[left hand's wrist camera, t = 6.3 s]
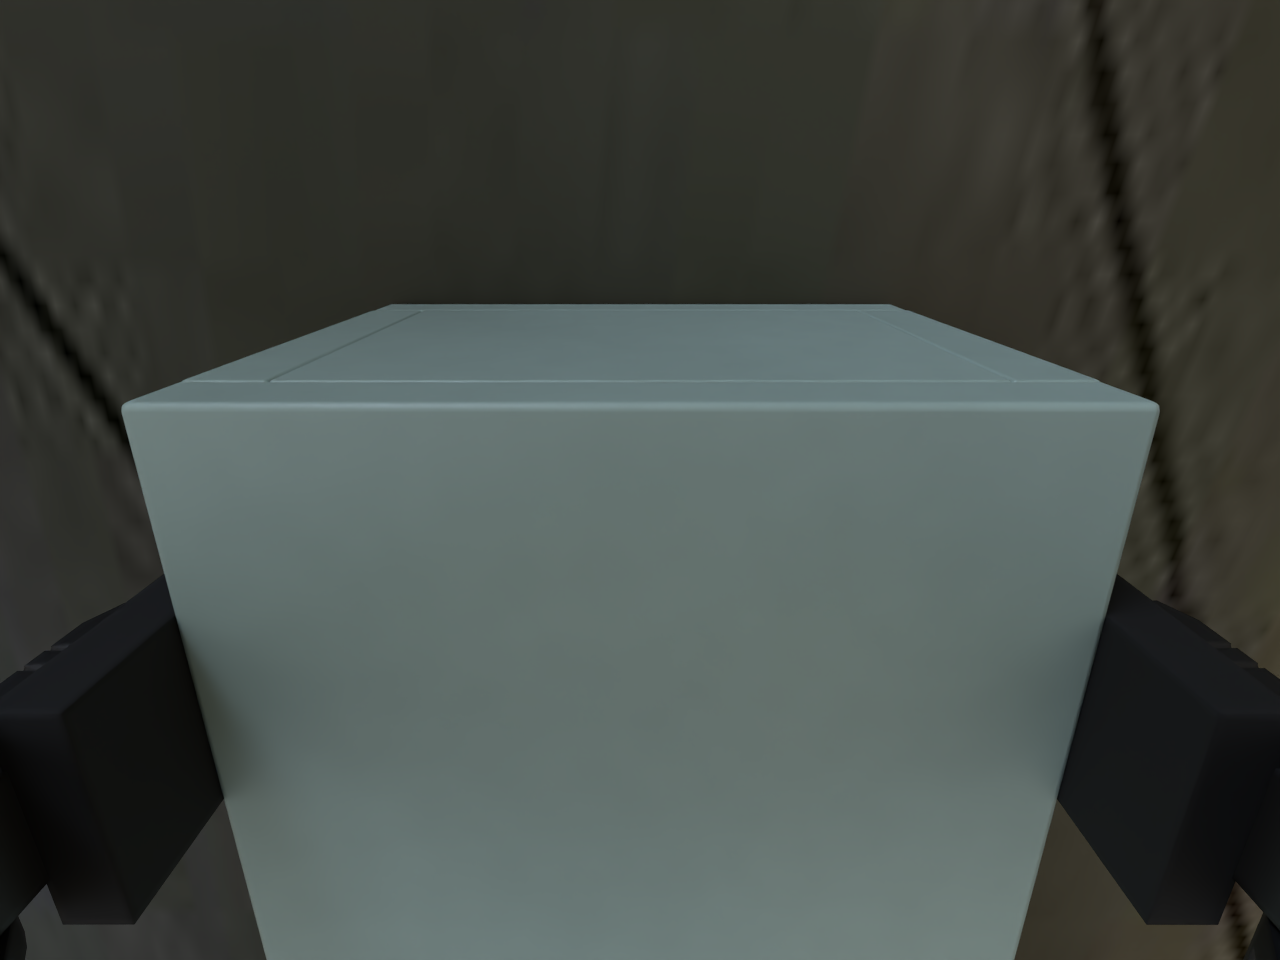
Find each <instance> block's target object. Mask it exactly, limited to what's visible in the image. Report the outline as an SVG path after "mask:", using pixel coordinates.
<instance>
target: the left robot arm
mask: <svg viewBox="0 0 1280 960" xmlns="http://www.w3.org/2000/svg"><path fill="white" fill-rule="evenodd" d="M24 667H25V668H24V671H17V672H15V673H14V674H13V675H11V676H10V677H9V678H7V679H6V680H5V681H3V682H2V683H0V960H25V955H26V949H27V944H26V938H25V931H24V929H23V926H22V924H21V922H20V919H19V917H18V915H19V914H20V913H21V912H22V911H23V910H24V909H25V907H26V906H27V905H28V904H29V903H30V902H31V901H32V900H33V898H34V897H35V896H36V895H37V894H38V893H39V892H40V890H41V889H42V888H43V887H44V886H45V885H46V884H47V885H48V888H49V891H50V893H51V896H52V898H53V901H54V903H55V906H56V908H57V911H58V913H59V916H60V918H61V921H62V923H63V924H135V923H136V921H137V920H138V918H139V917H140V916H141V914H142V913H143V911H144V910H145V909H146V907H147V906H148V904H149V903H150V902H151V900H152V899H153V897H154V896H155V895H156V893H157V892H158V890H159V889H160V888H161V886H162V885H163V883H164V882H165V881H166V879H167V878H168V876H169V875H170V873H171V872H172V871H173V869H174V868H175V866H176V865H177V864H178V862H179V861H180V859H181V858H182V857H183V855H184V854H185V852H186V851H187V850H188V848H189V847H190V845H191V844H192V843H193V841H194V840H195V838H196V837H197V836H198V834H199V833H200V831H201V830H202V828H203V827H204V826H205V824H206V823H207V821H208V820H209V819H210V817H211V816H212V814H213V813H214V812H215V810H216V809H217V807H218V806H219V805H220V803H221V802H222V800H223V799H224V796H223V793H222V789H221V785H220V781H219V778H218V774H217V770H216V766H215V763H214V759H213V755H212V751H211V747H210V744H209V740H208V736H207V732H206V729H205V725H204V721H203V717H202V714H201V710H200V706H199V702H198V698H197V695H196V691H195V687H194V683H193V680H192V676H191V672H190V668H189V664H188V661H187V657H186V653H185V649H184V646H183V642H182V638H181V634H180V631H179V627H178V623H177V619H176V615H175V612H174V608H173V604H172V600H171V597H170V593H169V589H168V585H167V582H166V578H165V574H163V575H162V576H161V577H159V578H158V579H157V580H155V581H154V582H153V583H151V584H150V585H149V586H147V587H146V588H145V589H143V590H142V591H141V592H139V593H138V594H137V595H135V596H134V597H133V598H131V599H130V600H129V601H128V602H126V603H124V604H122V605H120V606H117V607H115V608H113V609H111V610H109V611H107V612H105V613H103V614H101V615H98V616H96V617H94V618H92V619H90V620H88V621H86V622H84V623H82V624H81V625H79V626H78V627H77V628H75V629H74V630H73V631H71V632H70V633H69V634H67V635H66V636H64V637H63V638H62V639H60V640H59V641H58V642H56V643H55V644H54V645H52V646H51V651H44V652H43V653H41V654H40V655H39V656H37V657H36V658H35V659H33V660H32V661H30V662H29V663H28V664H26V665H25V666H24ZM1057 799H1058V801H1059V802H1060V803H1061V805H1062V806H1063V808H1064V809H1065V811H1066V812H1067V813H1068V815H1069V816H1070V818H1071V819H1072V820H1073V822H1074V823H1075V825H1076V826H1077V827H1078V829H1079V830H1080V832H1081V833H1082V834H1083V836H1084V837H1085V839H1086V840H1087V841H1088V843H1089V844H1090V846H1091V847H1092V848H1093V850H1094V851H1095V853H1096V854H1097V855H1098V857H1099V858H1100V860H1101V861H1102V863H1103V864H1104V865H1105V867H1106V868H1107V870H1108V871H1109V872H1110V874H1111V875H1112V877H1113V878H1114V879H1115V881H1116V882H1117V884H1118V885H1119V886H1120V888H1121V889H1122V891H1123V892H1124V893H1125V895H1126V896H1127V898H1128V899H1129V900H1130V902H1131V903H1132V905H1133V906H1134V907H1135V909H1136V910H1137V912H1138V913H1139V915H1140V916H1141V917H1142V919H1143V920H1144V922H1145V923H1146V924H1147V925H1218V924H1219V921H1220V918H1221V916H1222V913H1223V911H1224V908H1225V906H1226V903H1227V901H1228V898H1229V896H1230V893H1231V891H1232V888H1233V886H1234V883H1235V881H1236V882H1237V883H1238V884H1239V885H1240V886H1241V888H1242V889H1243V890H1244V891H1245V892H1246V893H1247V894H1248V895H1249V896H1250V898H1251V899H1252V900H1253V901H1254V902H1255V903H1256V904H1257V905H1258V907H1259V908H1260V909H1261V910H1262V911H1263V915H1262V917H1261V919H1260V922H1259V924H1258V926H1257V929H1256V931H1255V934H1254V936H1253V938H1252V941H1251V943H1250V945H1249V948H1248V950H1247V952H1246V955H1245V957H1244V959H1243V960H1280V679H1279V678H1277V677H1276V676H1275V675H1273V674H1272V673H1270V672H1269V671H1268V670H1266V669H1265V668H1258V663H1257V662H1255V661H1254V660H1253V659H1251V658H1250V657H1249V656H1247V655H1246V654H1244V653H1243V652H1242V651H1240V650H1239V649H1238V648H1231V643H1229V642H1228V641H1227V640H1225V639H1224V638H1222V637H1221V636H1220V635H1218V634H1217V633H1216V632H1214V631H1213V630H1211V629H1210V628H1209V627H1207V626H1206V625H1205V624H1203V623H1202V622H1200V621H1199V620H1197V619H1195V618H1193V617H1191V616H1189V615H1187V614H1184V613H1182V612H1180V611H1178V610H1176V609H1174V608H1172V607H1170V606H1167V605H1165V604H1163V603H1161V602H1159V601H1152V600H1151V599H1149V598H1148V597H1147V596H1145V595H1144V594H1143V593H1141V592H1140V591H1139V590H1137V589H1136V588H1135V587H1134V586H1132V585H1131V584H1130V583H1128V582H1127V581H1126V580H1124V579H1123V578H1122V577H1120V576H1119V575H1118V574H1117V575H1116V578H1115V582H1114V586H1113V590H1112V594H1111V597H1110V601H1109V605H1108V609H1107V612H1106V616H1105V620H1104V624H1103V627H1102V631H1101V635H1100V639H1099V642H1098V646H1097V650H1096V654H1095V657H1094V661H1093V665H1092V669H1091V673H1090V676H1089V680H1088V684H1087V688H1086V691H1085V695H1084V699H1083V703H1082V706H1081V710H1080V714H1079V718H1078V721H1077V725H1076V729H1075V733H1074V737H1073V740H1072V744H1071V748H1070V752H1069V755H1068V759H1067V763H1066V767H1065V770H1064V774H1063V778H1062V782H1061V785H1060V789H1059V793H1058V797H1057Z"/></svg>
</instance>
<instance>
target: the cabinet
mask: <svg viewBox="0 0 1280 960" xmlns="http://www.w3.org/2000/svg"><path fill="white" fill-rule="evenodd" d="M1159 413H1160V410H1159V405H1158V404H1157V403H1155V402H1153V401H1150V400H1148V399H1145V398H1142V397H1140V396H1137V395H1134V394H1131V393H1129V392H1126V391H1123V390H1121V389H1118V388H1115V387H1112V386H1110V385H1107V384H1104V383H1102V382H1100V381H1099V380H1096V379H1094V378H1091V377H1088V376H1086V375H1083V374H1080V373H1077V372H1075V371H1072V370H1069V369H1067V368H1064V367H1061V366H1058V365H1056V364H1053V363H1050V362H1047V361H1045V360H1042V359H1039V358H1036V357H1034V356H1031V355H1028V354H1026V353H1023V352H1020V351H1017V350H1015V349H1012V348H1009V347H1006V346H1004V345H1001V344H998V343H995V342H993V341H990V340H987V339H985V338H982V337H979V336H976V335H974V334H971V333H968V332H965V331H963V330H960V329H957V328H955V327H952V326H949V325H946V324H944V323H941V322H938V321H935V320H933V319H930V318H927V317H924V316H922V315H919V314H916V313H914V312H911V311H908V310H904V309H901V308H898V307H895V306H893V305H890V304H391V305H388V306H385V307H383V308H380V309H377V310H375V311H370V312H368V313H365V314H362V315H360V316H357V317H354V318H351V319H349V320H346V321H343V322H340V323H338V324H335V325H332V326H330V327H327V328H324V329H321V330H319V331H316V332H313V333H310V334H308V335H305V336H302V337H300V338H297V339H294V340H291V341H289V342H286V343H283V344H280V345H278V346H275V347H272V348H270V349H267V350H264V351H261V352H259V353H256V354H253V355H250V356H248V357H245V358H242V359H240V360H237V361H234V362H231V363H229V364H226V365H223V366H220V367H218V368H215V369H212V370H210V371H207V372H204V373H201V374H199V375H196V376H193V377H190V378H188V379H185V380H183V381H182V382H180V383H177V384H174V385H171V386H169V387H166V388H163V389H161V390H158V391H155V392H152V393H150V394H147V395H144V396H142V397H139V398H136V399H133V400H131V401H128V402H126V403H124V404H123V406H122V416H123V419H124V423H125V427H126V431H127V434H128V438H129V442H130V446H131V450H132V453H133V457H134V461H135V465H136V468H137V472H138V476H139V480H140V483H141V487H142V491H143V495H144V499H145V502H146V506H147V510H148V514H149V517H150V521H151V525H152V529H153V533H154V536H155V540H156V544H157V548H158V551H159V555H160V559H161V563H162V566H163V570H164V574H165V578H166V582H167V585H168V589H169V593H170V597H171V600H172V604H173V608H174V612H175V615H176V619H177V623H178V627H179V631H180V634H181V638H182V642H183V646H184V649H185V653H186V657H187V661H188V664H189V668H190V672H191V676H192V680H193V683H194V687H195V691H196V695H197V698H198V702H199V706H200V710H201V714H202V717H203V721H204V725H205V729H206V732H207V736H208V740H209V744H210V747H211V751H212V755H213V759H214V763H215V766H216V770H217V774H218V778H219V781H220V785H221V789H222V793H223V796H224V800H225V804H226V808H227V812H228V815H229V819H230V823H231V827H232V830H233V834H234V838H235V842H236V845H237V849H238V853H239V857H240V861H241V864H242V868H243V872H244V876H245V879H246V883H247V887H248V891H249V895H250V898H251V902H252V906H253V910H254V913H255V917H256V921H257V925H258V928H259V932H260V936H261V940H262V944H263V947H264V951H265V955H266V959H267V960H1014V959H1015V955H1016V951H1017V947H1018V944H1019V940H1020V936H1021V932H1022V928H1023V925H1024V921H1025V917H1026V913H1027V910H1028V906H1029V902H1030V898H1031V895H1032V891H1033V887H1034V883H1035V880H1036V876H1037V872H1038V868H1039V864H1040V861H1041V857H1042V853H1043V849H1044V846H1045V842H1046V838H1047V834H1048V831H1049V827H1050V823H1051V819H1052V816H1053V812H1054V808H1055V804H1056V801H1057V797H1058V793H1059V789H1060V785H1061V782H1062V778H1063V774H1064V770H1065V767H1066V763H1067V759H1068V755H1069V752H1070V748H1071V744H1072V740H1073V737H1074V733H1075V729H1076V725H1077V721H1078V718H1079V714H1080V710H1081V706H1082V703H1083V699H1084V695H1085V691H1086V688H1087V684H1088V680H1089V676H1090V673H1091V669H1092V665H1093V661H1094V657H1095V654H1096V650H1097V646H1098V642H1099V639H1100V635H1101V631H1102V627H1103V624H1104V620H1105V616H1106V612H1107V609H1108V605H1109V601H1110V597H1111V594H1112V590H1113V586H1114V582H1115V578H1116V575H1117V571H1118V567H1119V563H1120V560H1121V556H1122V552H1123V548H1124V545H1125V541H1126V537H1127V533H1128V530H1129V526H1130V522H1131V518H1132V514H1133V511H1134V507H1135V503H1136V499H1137V496H1138V492H1139V488H1140V484H1141V481H1142V477H1143V473H1144V469H1145V466H1146V462H1147V458H1148V454H1149V450H1150V447H1151V443H1152V439H1153V435H1154V432H1155V428H1156V424H1157V420H1158V417H1159Z"/></svg>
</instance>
